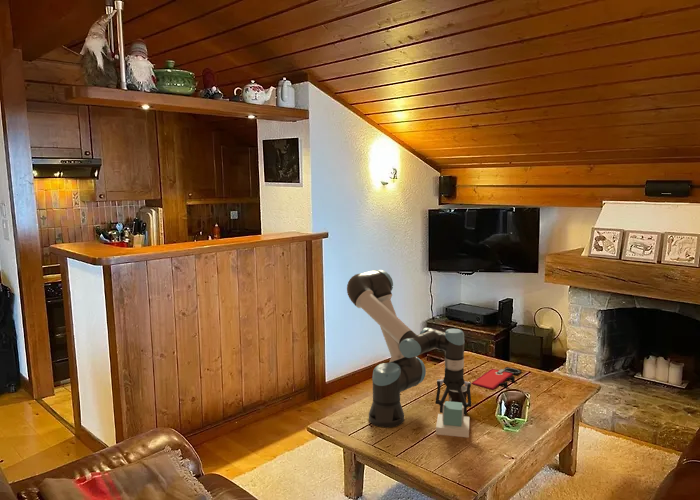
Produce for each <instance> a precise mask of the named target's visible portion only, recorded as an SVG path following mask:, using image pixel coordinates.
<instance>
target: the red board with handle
mask: <svg viewBox="0 0 700 500" xmlns="http://www.w3.org/2000/svg"><path fill="white" fill-rule="evenodd" d="M522 371H523V370H521V369H517V368H514V367H508V366H506V367H505V368H503V369H502V368H500V369H495V368H491V369H489V370H488V371H486V372H485V373H484V374H482V375H480V377H478V378H477V379H475V380H474V381H472V382H471V385H474V386H477V387H480V388H484V389H487V390H492V391H494V390H495V389H496V388H498V387H500V386H501V387H503V388H508V381H511V383H514V382H515V378H516V376H514V375H518V374H520V373H521V372H522Z"/></svg>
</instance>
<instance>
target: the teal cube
mask: <svg viewBox="0 0 700 500" xmlns="http://www.w3.org/2000/svg"><path fill="white" fill-rule="evenodd" d="M444 404H445V406H444V425H452V426H461V425H462V403H461V402H451V401H449V400H445V401H444Z"/></svg>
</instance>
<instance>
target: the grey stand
mask: <svg viewBox="0 0 700 500" xmlns="http://www.w3.org/2000/svg"><path fill="white" fill-rule="evenodd" d="M442 416H443V413H437V419H436V424H435V435H437V436H438V435H439V436H450V437H459V438H468V439H469V438H470V416H467V415H464V422H463V423H462V425H461V426H452V425H444V421H442Z"/></svg>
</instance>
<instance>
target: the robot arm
mask: <svg viewBox="0 0 700 500" xmlns="http://www.w3.org/2000/svg"><path fill="white" fill-rule="evenodd" d="M393 286H394V282H393V278H392V275H390V274H389V273H388V272H387V271H385V270H383V269H374V270H369V271H365V272H362V273H356V274H354V275H353V276H351V277H350V278H349V281H348V282H347V285H346V293H347V296H348V298H349V300H350V301H351V303H353V305H354V306H355V307H356V308H358V309H362V310H363V311H364V312H365V313H366V314H367V315H368V317H371V319H372V320H373V321H374V322H376V323H377V324H378V325H379V327H380V330H381V333H382V335H383V337H384V340H385V344H386V347H387V350H388V351H389V354H390V358H389V359H390V360H389V362H382V363H380V364H378V365H376V366H375V367H374V369H373V371H372V380H371V381H372V403H371V406H370V408H369V412H368V420H369V422H370V423H371V425H374V426H376V427H380V428H394V427H398V426H401V425H402V424H403V423H404V422H405V412H404V409H403V406H402V404H401V393H402V392H404V391H407V390H409V389H411V388H414V387H416V386H418V385H419V384H421V383H422V382H423V381H424V380H425V377H426V374H427V373H426V372H427V371H426V366H425V363H424V362H423V360H422V359H420V357H418V356H419V355H422V354H424V353H428V352H430V351H432V350H438V351H442V352H444V377H443V378H441V379H440V378H437V380H436V385H437V391H436V397H435V401H434V402H435V404H436V405H439V412H440V413H439V414H443V416H442V421H444V406H445V401H446V400H447V396H448V392H449V390H456V391H458V393H459V395H460V398H461V401H462V404H463V405H462V423H463V422H464V416H467V412H468V411H467V410H468V408H471V407H472V396H471V395H472V393H471V387H472V382H471V381H467V380H465V379H464V378H465V377H464V376H465V375H464V374H465V373H464V371H465V370H464V365H465V332H464V331H463V330H462V329H459V328H448V329H446V330H445V331H442V330H438V329H435V328H433V327H424V328H423V329H422V330H421V331H420V333H419V334H416V333H415V331H413V330H412V329H411V328H409V326H407V325H406V323H404V321H402V320H401V319H400V318H399V317H398V316H397V314H396V311H395V309H394V305H393V303H392V296H393V294H392V290H393V288H394V287H393ZM443 384H444V385H445V390H444V393H443V395H442V397H441V398H440V393H441V387H442V386H443ZM463 385H464V386H465V387H466V388H467V397H466V398H467V399H466V400H465V397H464V395H463V392H462V389H461V387H462V386H463Z"/></svg>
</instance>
